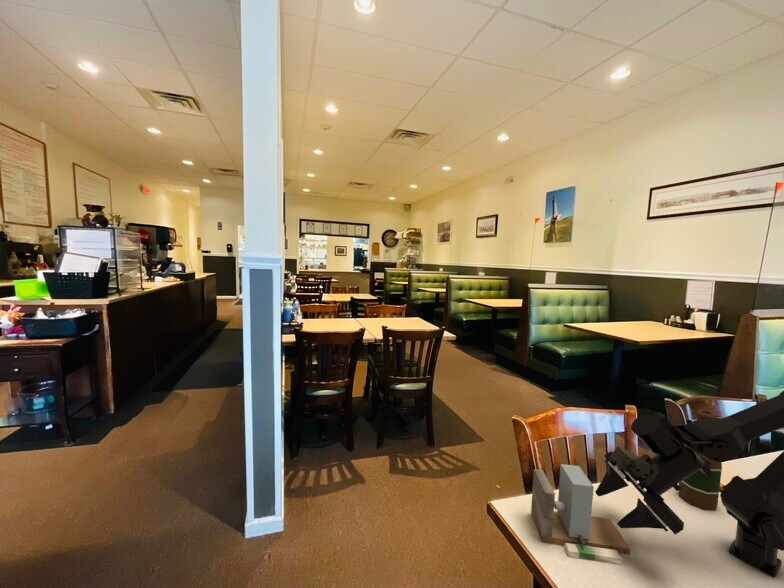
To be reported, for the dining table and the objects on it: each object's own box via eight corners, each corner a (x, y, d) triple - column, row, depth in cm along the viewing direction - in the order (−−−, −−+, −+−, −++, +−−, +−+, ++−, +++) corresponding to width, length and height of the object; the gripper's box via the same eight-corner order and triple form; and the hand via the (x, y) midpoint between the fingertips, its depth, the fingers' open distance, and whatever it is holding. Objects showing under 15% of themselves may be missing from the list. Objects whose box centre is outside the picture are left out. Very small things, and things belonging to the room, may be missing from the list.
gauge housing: (609, 524, 73) (613, 478, 72) (637, 566, 63) (642, 513, 62) (530, 514, 76) (533, 469, 75) (545, 552, 65) (549, 501, 64)
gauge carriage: (575, 514, 74) (579, 466, 73) (594, 548, 65) (598, 493, 64) (548, 510, 75) (551, 463, 74) (563, 544, 66) (567, 490, 65)
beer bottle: (670, 494, 84) (679, 408, 82) (685, 486, 87) (694, 403, 85) (709, 515, 77) (720, 421, 75) (723, 506, 80) (734, 416, 78)
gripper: (616, 419, 76) (564, 456, 79) (672, 466, 58) (603, 513, 60) (648, 453, 76) (596, 490, 78) (716, 512, 57) (644, 558, 60)
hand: (607, 509), depth 69 cm, fingers open, 9 cm apart
